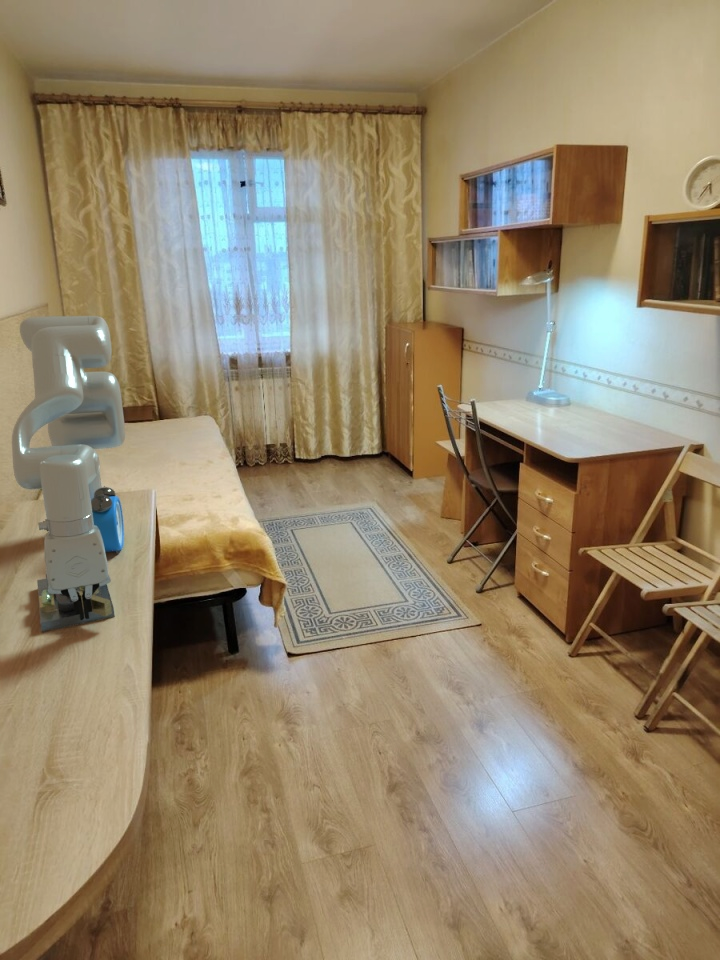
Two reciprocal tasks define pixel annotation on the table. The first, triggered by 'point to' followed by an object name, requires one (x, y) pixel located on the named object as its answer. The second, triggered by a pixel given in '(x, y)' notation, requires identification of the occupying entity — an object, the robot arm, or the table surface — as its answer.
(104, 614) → the knob
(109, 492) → the alarm clock
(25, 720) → the table surface
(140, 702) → the table surface
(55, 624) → the control panel
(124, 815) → the table surface
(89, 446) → the robot arm
